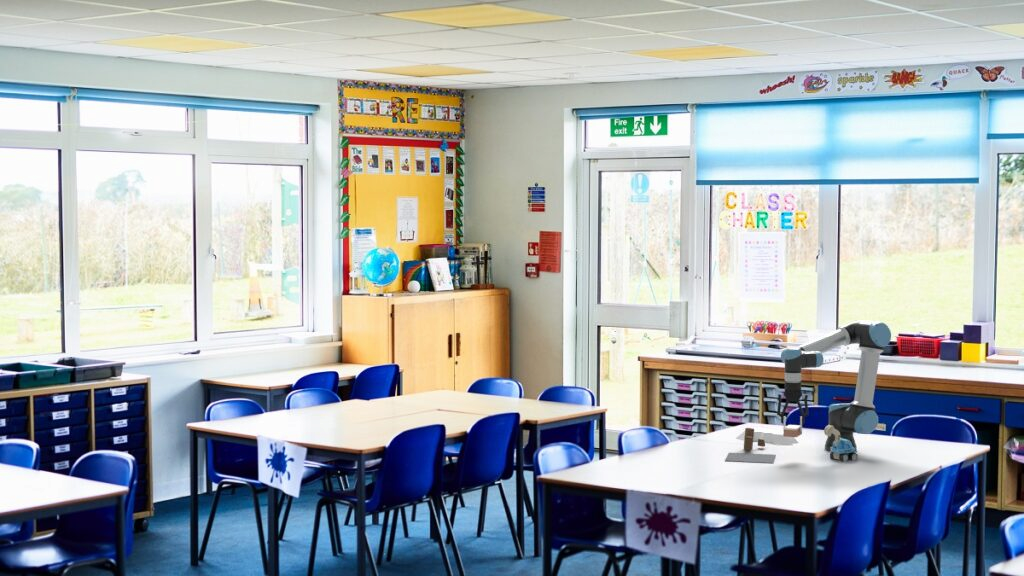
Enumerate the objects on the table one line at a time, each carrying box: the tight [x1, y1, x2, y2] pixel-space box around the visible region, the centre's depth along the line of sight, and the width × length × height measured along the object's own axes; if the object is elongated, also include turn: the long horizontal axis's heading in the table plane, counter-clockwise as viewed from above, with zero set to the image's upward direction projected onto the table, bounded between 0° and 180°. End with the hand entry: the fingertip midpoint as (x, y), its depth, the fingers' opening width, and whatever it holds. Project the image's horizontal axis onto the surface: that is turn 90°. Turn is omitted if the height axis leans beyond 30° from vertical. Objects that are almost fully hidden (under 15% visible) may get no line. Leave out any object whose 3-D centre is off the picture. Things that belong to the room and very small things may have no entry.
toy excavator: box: [823, 424, 858, 462], centre depth 571 cm, size 9×17×17 cm, turn 117°
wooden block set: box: [743, 427, 766, 451], centre depth 599 cm, size 18×9×10 cm, turn 151°
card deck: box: [782, 424, 803, 438], centre depth 570 cm, size 6×10×4 cm, turn 152°
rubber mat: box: [724, 452, 776, 465], centre depth 575 cm, size 22×22×1 cm
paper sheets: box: [735, 428, 799, 446], centre depth 628 cm, size 35×20×6 cm, turn 48°
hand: (792, 430), depth 570 cm, fingers closed on card deck, 7 cm apart
